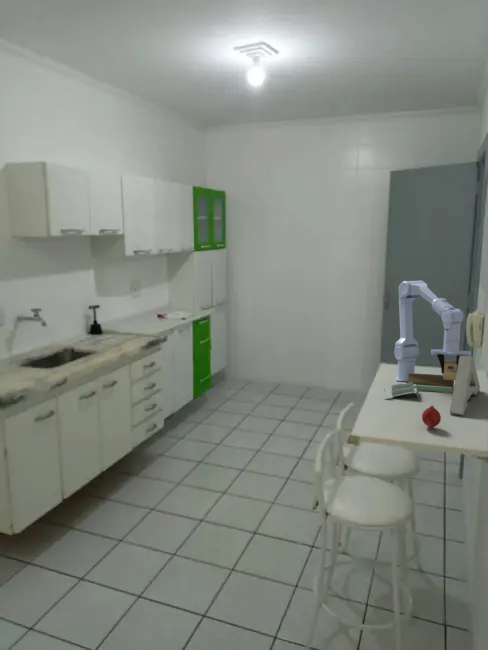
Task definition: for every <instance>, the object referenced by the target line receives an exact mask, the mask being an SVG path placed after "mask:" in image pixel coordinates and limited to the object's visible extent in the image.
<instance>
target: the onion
mask: <svg viewBox="0 0 488 650" xmlns="http://www.w3.org/2000/svg"><path fill="white" fill-rule="evenodd" d="M421 420H422V422H423V424H424V425H425V426H427V427H428V428H429V429H433V428H435V427H436V426H438V425H439V424H440V423H441V420H442V417H441V413H440V412H439V410H437V408H435V406H434V405H430V406H429V407H427V408H426V409H424V410H423V412H422V414H421Z"/></svg>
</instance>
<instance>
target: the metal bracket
mask: <svg viewBox="0 0 488 650" xmlns="http://www.w3.org/2000/svg"><path fill="white" fill-rule="evenodd" d="M411 383H412V384H411ZM414 393H416V397H417V398H419V396H421V393H419V390H418V385H416V384H413V382H409V383H398V384H392V385H391V387H386V388H385V389H384V397H383V399H384V400H390V399H393V398H394V397H399V396H405V395H409V394H414Z"/></svg>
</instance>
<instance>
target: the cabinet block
mask: <svg viewBox="0 0 488 650" xmlns="http://www.w3.org/2000/svg"><path fill="white" fill-rule="evenodd" d="M456 373H457V363H456V360H444V374H442V375H443V379H445V380H454V381H455V379H456Z"/></svg>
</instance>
